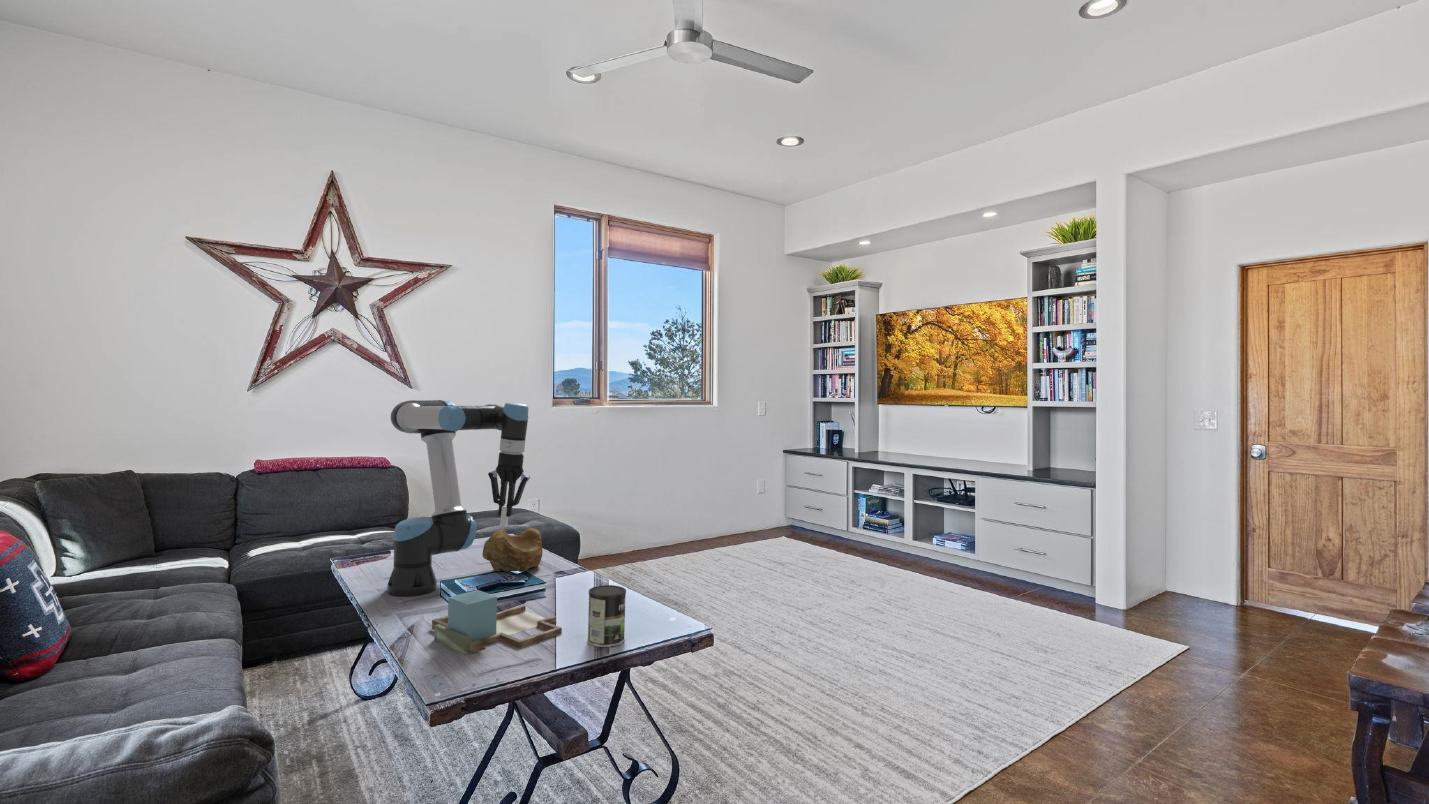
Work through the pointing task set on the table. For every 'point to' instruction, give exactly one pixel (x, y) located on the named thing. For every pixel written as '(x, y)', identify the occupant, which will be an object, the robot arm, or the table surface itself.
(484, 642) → the trap lane
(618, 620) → the coffee can
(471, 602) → the teal block
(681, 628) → the table surface
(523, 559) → the rough brown rock
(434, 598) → the table surface
